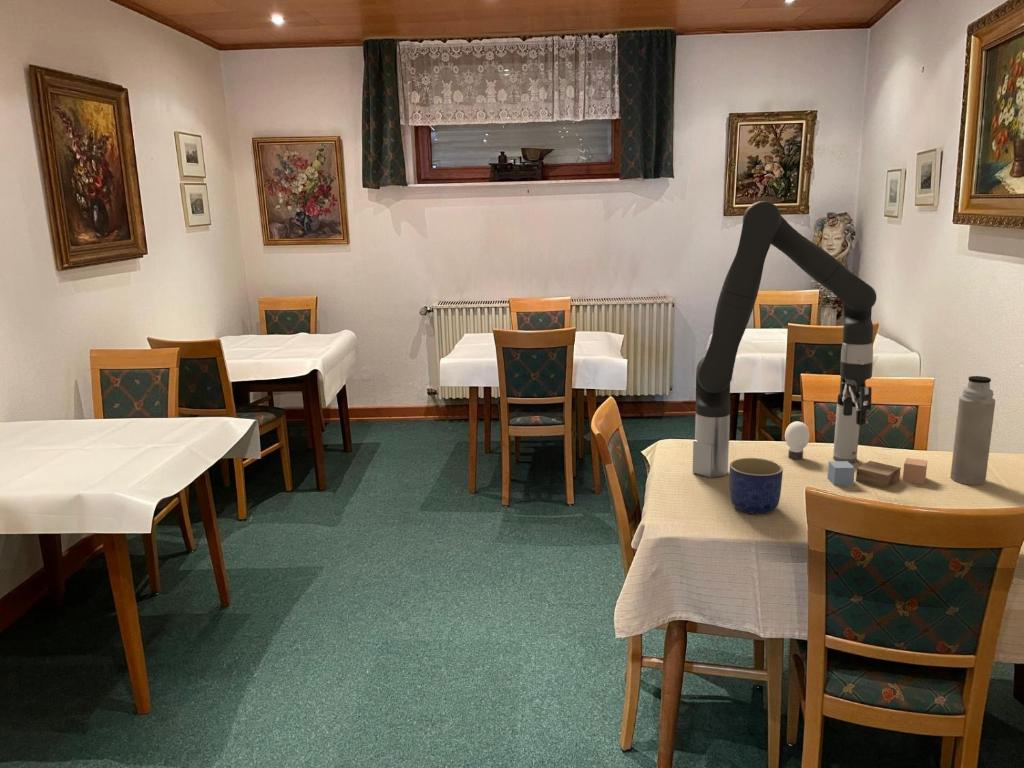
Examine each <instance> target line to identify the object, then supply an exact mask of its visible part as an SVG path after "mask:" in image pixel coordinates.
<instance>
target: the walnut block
mask: <svg viewBox="0 0 1024 768" xmlns="http://www.w3.org/2000/svg"><path fill="white" fill-rule="evenodd" d="M901 469H902V468H901V467H899V466H893V465H890V464H886V463H882V462H881V463H880V462H879V461H878V462H877V461H873V460H869V461H866V463H863V464H862V465H860V466H858V467H857V468H856V474H855V477H856V478H855V481H856V482H858V483H863V484H866V485H870V486H874V487H878V488H882V489H885V490H886V489H889V488H890V487H892V486H893V485H895V484H897V483H898V482H900V477H901Z"/></svg>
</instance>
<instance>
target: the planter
mask: <svg viewBox="0 0 1024 768" xmlns="http://www.w3.org/2000/svg"><path fill="white" fill-rule="evenodd" d="M783 473H784V467H783V466H782V465H781V464H780V463H778V462H776V461H773V460H769V459H764V458H760V457H759V458H756V457H746V458H745V457H744V458H743V457H742V458H738V459H735V460H733V461H731V462H730V464H729V493H730V501H731V504H732V506H734V507H735V508H736V509H737V510H739V511H741V512H743V513H748V514H753V515H754V514H755V515H756V514H757V515H762V514H768V513H771V512H773V511H775V510H776V509H777V507H778V505H779V504H780V499H781V492H782V482H783Z"/></svg>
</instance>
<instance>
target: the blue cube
mask: <svg viewBox="0 0 1024 768" xmlns="http://www.w3.org/2000/svg"><path fill="white" fill-rule="evenodd" d="M855 468H856V467H855V466H853V465H852V463H849V462H848V461H836V460H835V461H834V460H833V461H828V466H827V480H828V481H829V482H830V483H831V484H832V485H833V486H854V482H855V481H854V480H855V471H856V469H855Z"/></svg>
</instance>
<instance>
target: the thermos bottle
mask: <svg viewBox="0 0 1024 768" xmlns="http://www.w3.org/2000/svg"><path fill="white" fill-rule="evenodd" d="M967 380H968V382H967V386H966V387H964V388H963V390H962V395H960V396H959V398H958V407H957V409H958V411H957V415H956V424H955V434H954V442H953V451H952V460H951V461H952V462H951V467H950V468H951V470H950V476H949V477H950V479H951V481H953V482H956V483H959V484H962V483H963V485H969V486H979V485H985V483H986V479H987V474H988V473H987V472H988V466H989V464H988V463H989V457H990V456H989V455H990V449H991V448H990V447H991V441H992V431H993V424H994V423H993V422H994V415H995V407H996V399H994V391H993V390H992V389H991V382H992V379H991V377H987V376H981V375H973V376H972V375H971V376H968V379H967Z"/></svg>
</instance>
